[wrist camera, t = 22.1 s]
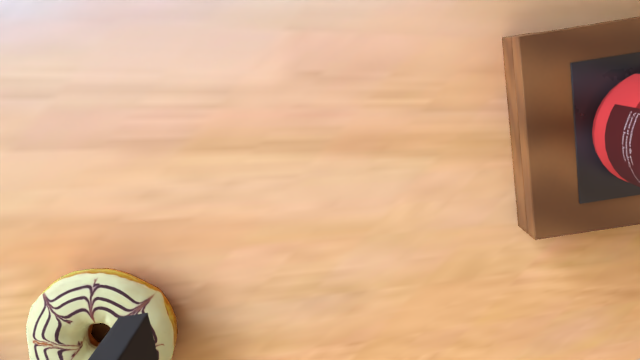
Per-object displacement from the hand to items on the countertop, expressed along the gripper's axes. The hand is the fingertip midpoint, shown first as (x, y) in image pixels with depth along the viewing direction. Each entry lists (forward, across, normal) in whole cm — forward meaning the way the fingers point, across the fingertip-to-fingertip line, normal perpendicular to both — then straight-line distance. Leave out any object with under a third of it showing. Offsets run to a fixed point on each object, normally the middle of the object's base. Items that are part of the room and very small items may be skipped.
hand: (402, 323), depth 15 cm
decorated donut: (+29, -20, -11) cm, 37 cm away
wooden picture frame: (+29, +20, -1) cm, 35 cm away
